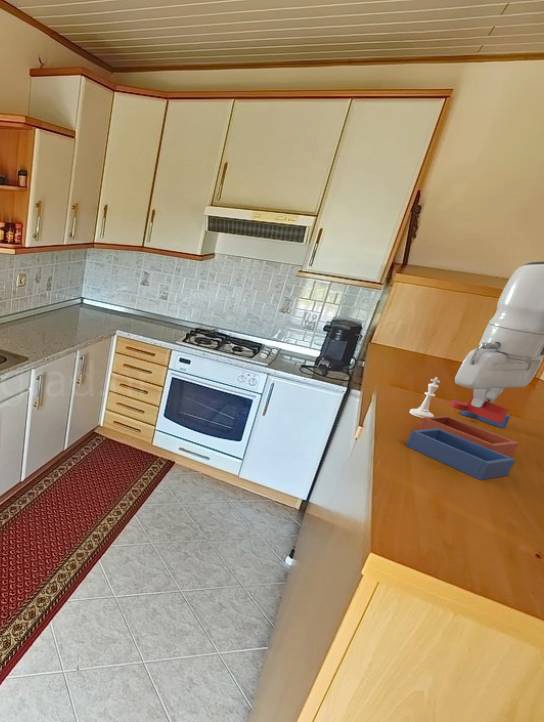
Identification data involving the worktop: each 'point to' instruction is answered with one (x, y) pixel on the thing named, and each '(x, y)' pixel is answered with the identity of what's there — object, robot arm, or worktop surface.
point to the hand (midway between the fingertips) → (480, 406)
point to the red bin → (470, 434)
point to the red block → (482, 409)
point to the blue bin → (460, 453)
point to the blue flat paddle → (501, 425)
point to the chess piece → (426, 401)
